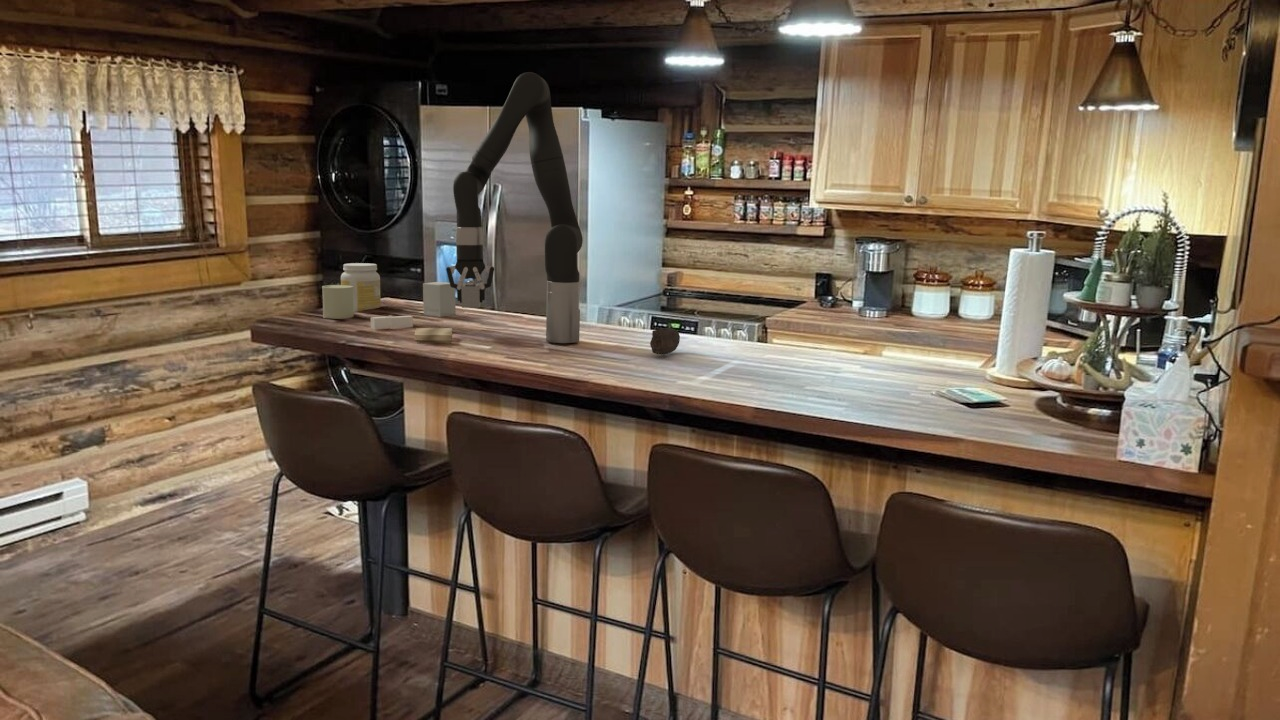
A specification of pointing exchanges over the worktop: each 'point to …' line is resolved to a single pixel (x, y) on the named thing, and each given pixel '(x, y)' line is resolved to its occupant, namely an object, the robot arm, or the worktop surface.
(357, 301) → the supplement tub
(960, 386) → the worktop surface
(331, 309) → the can
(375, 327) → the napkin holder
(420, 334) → the stand
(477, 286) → the block
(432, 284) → the supplement box
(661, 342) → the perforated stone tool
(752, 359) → the worktop surface
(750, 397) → the worktop surface
